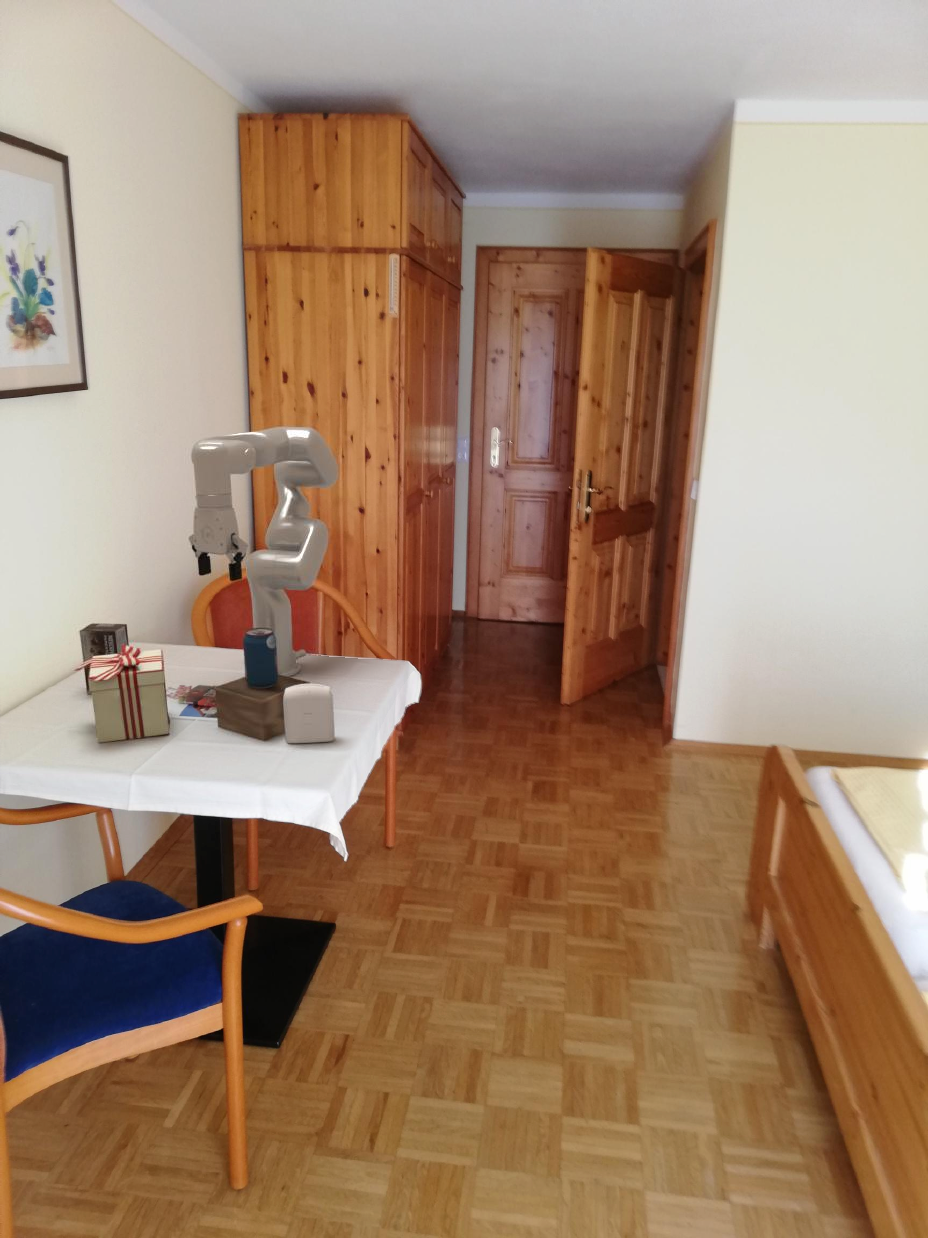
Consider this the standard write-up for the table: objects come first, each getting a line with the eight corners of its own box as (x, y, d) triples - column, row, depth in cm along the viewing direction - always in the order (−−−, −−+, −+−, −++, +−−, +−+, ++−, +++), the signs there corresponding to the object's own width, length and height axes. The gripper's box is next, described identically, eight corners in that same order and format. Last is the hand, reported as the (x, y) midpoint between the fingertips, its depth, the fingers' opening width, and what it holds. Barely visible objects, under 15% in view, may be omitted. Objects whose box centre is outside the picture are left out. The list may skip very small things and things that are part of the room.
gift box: (80, 722, 204) (71, 647, 200) (167, 710, 212) (161, 637, 207) (82, 750, 189) (73, 670, 185) (176, 737, 196) (170, 659, 192)
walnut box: (265, 707, 213) (263, 670, 211) (311, 720, 206) (309, 682, 203) (216, 726, 202) (213, 687, 199) (263, 741, 194) (261, 700, 192)
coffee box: (134, 687, 226) (128, 623, 222) (122, 696, 220) (115, 630, 216) (98, 686, 227) (91, 622, 223) (85, 695, 221) (78, 629, 217)
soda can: (285, 683, 202) (282, 630, 199) (258, 691, 197) (255, 637, 194) (265, 677, 206) (262, 624, 203) (239, 684, 201) (235, 631, 198)
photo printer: (284, 745, 192) (281, 688, 189) (286, 737, 196) (283, 681, 193) (334, 743, 193) (332, 687, 190) (335, 735, 197) (333, 680, 194)
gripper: (174, 500, 205) (180, 575, 210) (230, 507, 197) (236, 585, 201) (199, 495, 211) (206, 569, 216) (255, 502, 203) (260, 578, 207)
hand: (220, 577), depth 209 cm, fingers open, 9 cm apart
